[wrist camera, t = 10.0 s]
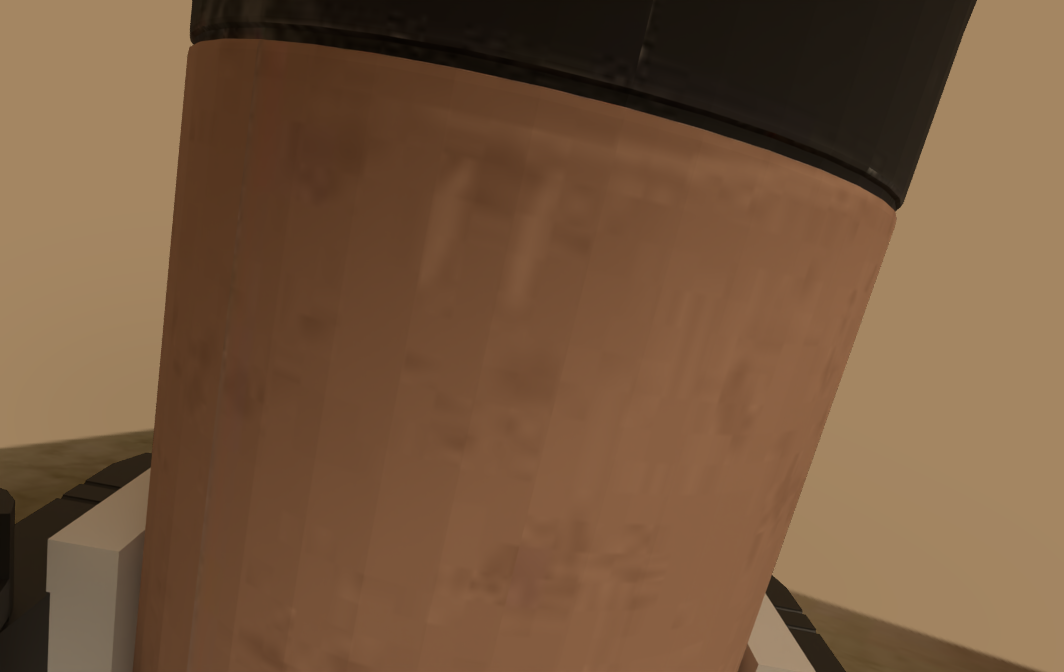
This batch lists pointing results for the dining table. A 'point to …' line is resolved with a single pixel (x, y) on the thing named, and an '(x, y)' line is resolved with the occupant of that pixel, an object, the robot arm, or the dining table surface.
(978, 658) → the dining table surface
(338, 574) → the travel mug
